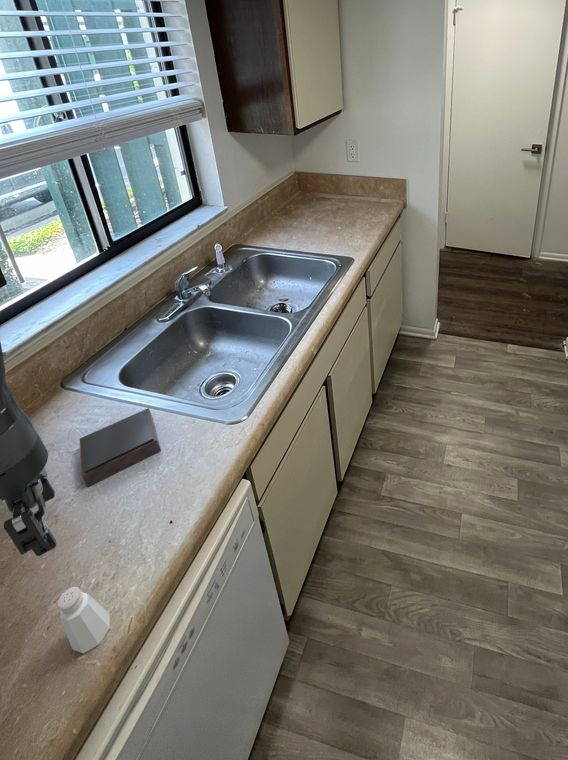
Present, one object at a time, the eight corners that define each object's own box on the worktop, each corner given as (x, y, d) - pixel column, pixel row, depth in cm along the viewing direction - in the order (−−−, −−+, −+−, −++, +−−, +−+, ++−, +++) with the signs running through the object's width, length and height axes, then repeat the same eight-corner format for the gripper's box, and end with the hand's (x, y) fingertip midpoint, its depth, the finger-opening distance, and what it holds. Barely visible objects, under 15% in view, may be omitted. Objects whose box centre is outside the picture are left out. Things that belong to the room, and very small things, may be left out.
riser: (87, 487, 91) (81, 475, 90) (84, 449, 99) (78, 437, 98) (161, 451, 99) (156, 439, 97) (152, 418, 107) (148, 406, 105)
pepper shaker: (64, 657, 67) (37, 623, 63) (82, 614, 72) (58, 579, 67) (102, 650, 68) (78, 615, 63) (117, 608, 73) (96, 572, 68)
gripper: (-33, 426, 59) (16, 499, 66) (-48, 514, 49) (11, 589, 56) (36, 399, 63) (75, 471, 70) (36, 475, 53) (81, 549, 60)
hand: (47, 523), depth 63 cm, fingers open, 8 cm apart
